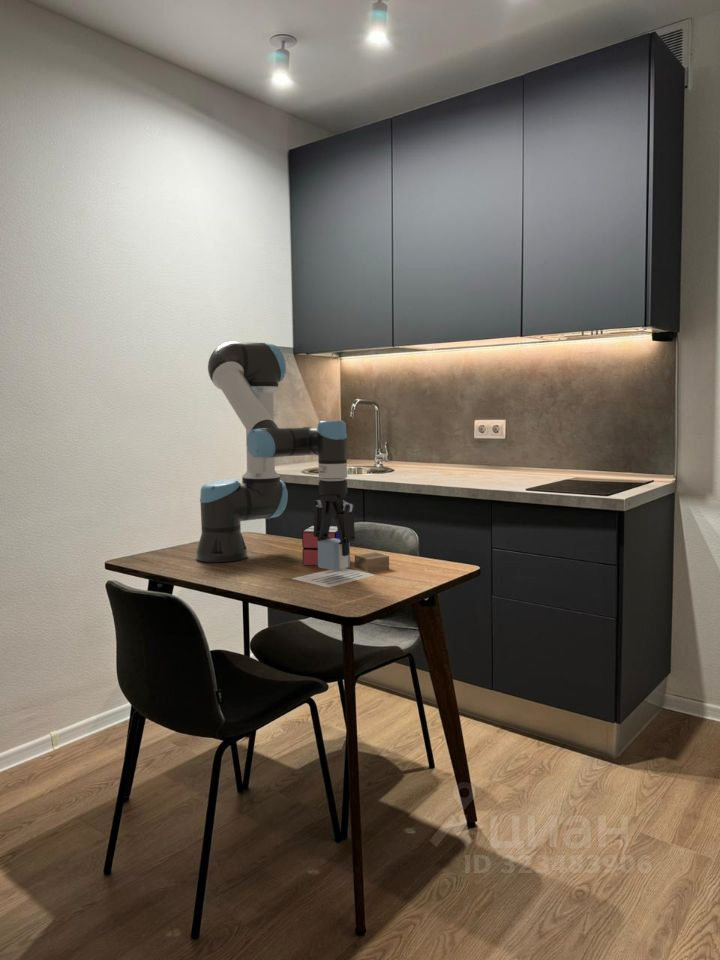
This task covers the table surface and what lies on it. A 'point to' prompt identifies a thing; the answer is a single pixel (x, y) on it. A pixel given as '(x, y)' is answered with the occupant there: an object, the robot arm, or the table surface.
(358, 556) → the walnut block
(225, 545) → the robot arm
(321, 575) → the letter
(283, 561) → the table surface
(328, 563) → the slate-blue cube
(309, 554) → the puzzle cube
